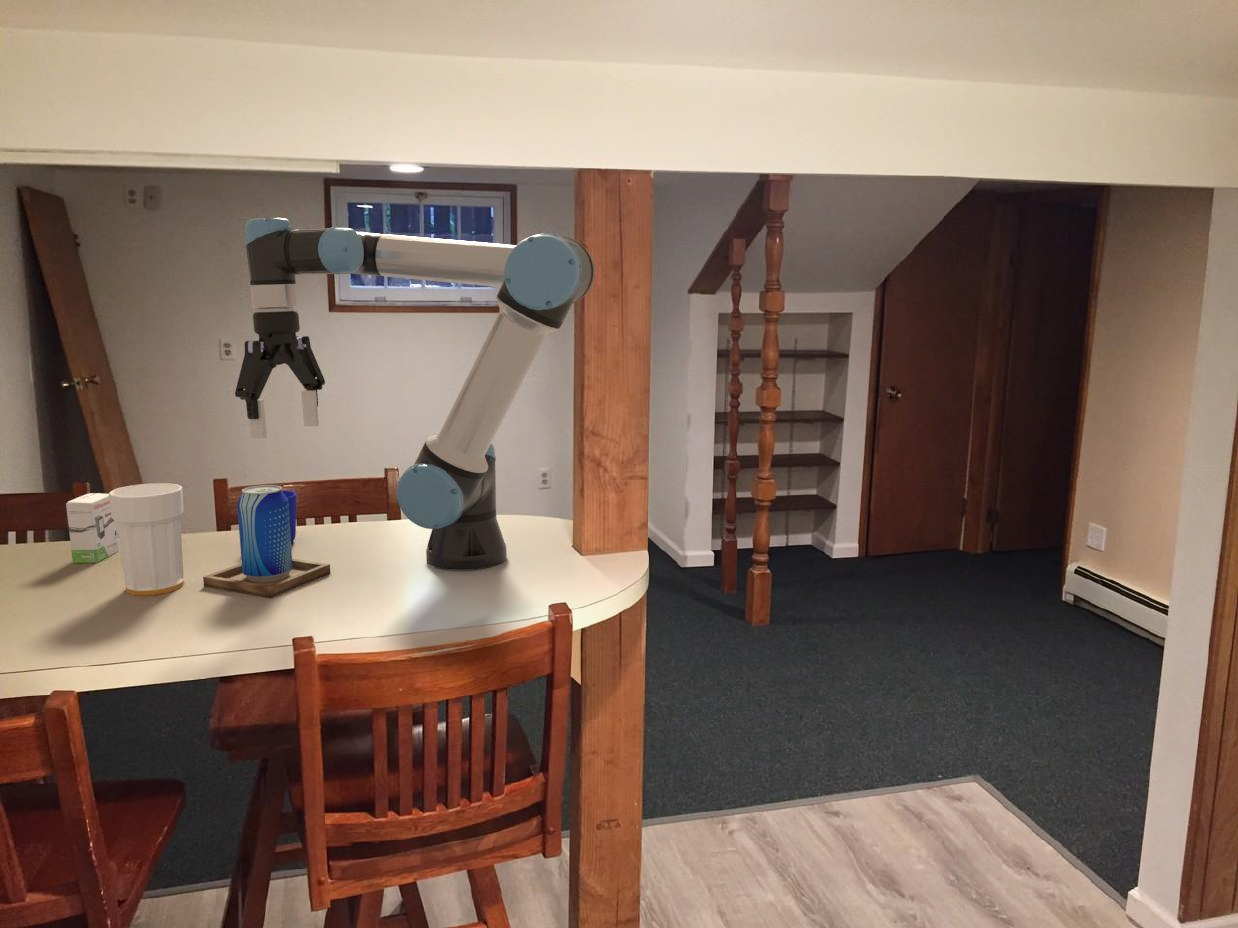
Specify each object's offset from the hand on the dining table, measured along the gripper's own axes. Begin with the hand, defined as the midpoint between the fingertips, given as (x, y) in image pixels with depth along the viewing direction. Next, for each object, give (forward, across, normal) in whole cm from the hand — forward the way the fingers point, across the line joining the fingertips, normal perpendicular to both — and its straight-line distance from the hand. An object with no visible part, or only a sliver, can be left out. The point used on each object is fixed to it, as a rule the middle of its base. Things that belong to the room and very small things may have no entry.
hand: (286, 431), depth 173 cm
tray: (+26, +6, -2) cm, 27 cm away
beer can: (+26, +5, -2) cm, 26 cm away
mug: (+26, -17, -18) cm, 36 cm away
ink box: (+25, +6, -43) cm, 50 cm away
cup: (+26, +16, -18) cm, 35 cm away
